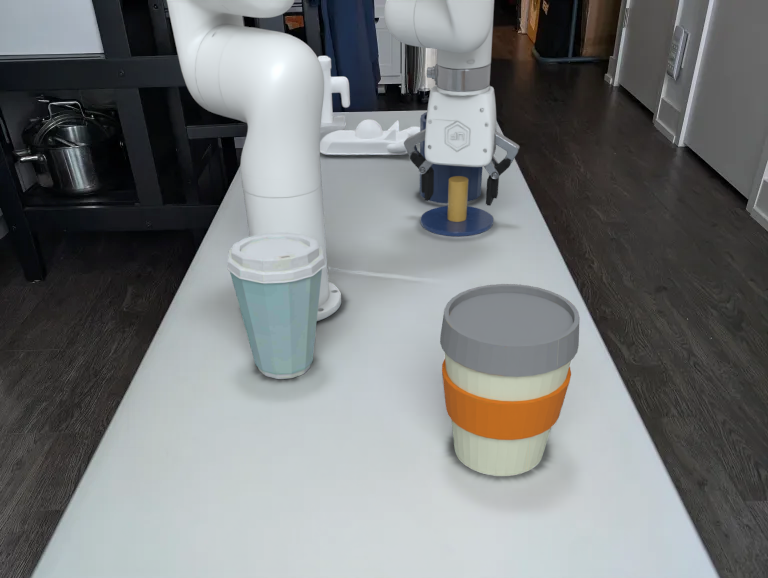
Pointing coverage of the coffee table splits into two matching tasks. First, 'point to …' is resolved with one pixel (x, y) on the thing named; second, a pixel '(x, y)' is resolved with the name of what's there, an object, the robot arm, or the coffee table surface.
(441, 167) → the tin
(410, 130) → the plane toy
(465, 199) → the tin lid
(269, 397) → the coffee table surface
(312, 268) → the disposable coffee cup
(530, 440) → the reusable coffee cup
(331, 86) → the white faucet
